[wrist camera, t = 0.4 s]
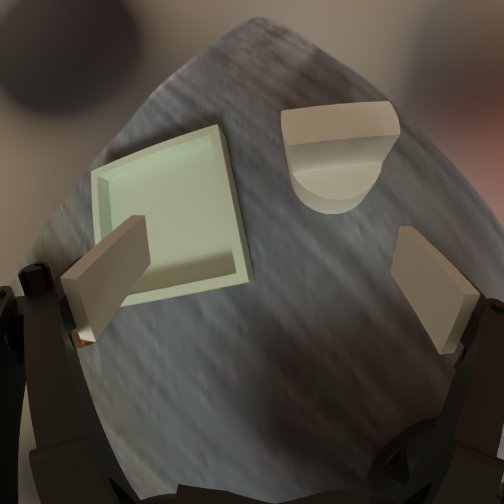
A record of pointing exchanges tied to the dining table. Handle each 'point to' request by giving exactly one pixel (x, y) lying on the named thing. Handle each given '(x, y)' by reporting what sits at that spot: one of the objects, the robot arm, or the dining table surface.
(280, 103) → the dining table surface
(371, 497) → the robot arm
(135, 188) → the bin
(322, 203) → the base with upright slab
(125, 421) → the dining table surface
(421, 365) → the dining table surface
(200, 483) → the dining table surface
